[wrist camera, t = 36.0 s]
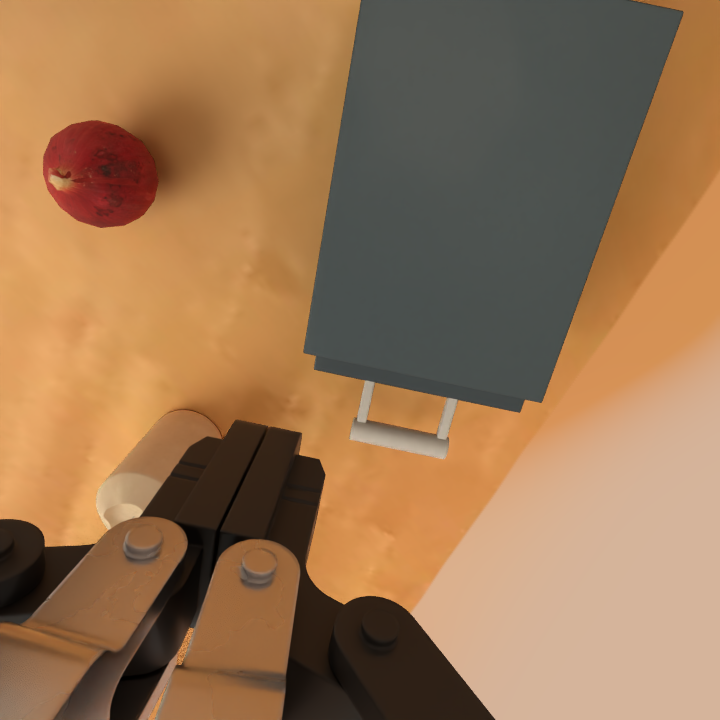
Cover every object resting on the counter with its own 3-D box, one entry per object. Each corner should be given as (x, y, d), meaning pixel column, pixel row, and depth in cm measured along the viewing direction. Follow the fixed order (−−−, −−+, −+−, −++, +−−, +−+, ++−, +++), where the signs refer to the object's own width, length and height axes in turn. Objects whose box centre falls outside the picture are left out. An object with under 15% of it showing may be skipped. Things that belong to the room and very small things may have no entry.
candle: (205, 482, 43) (151, 575, 34) (143, 449, 42) (70, 534, 33) (235, 431, 41) (186, 515, 32) (170, 396, 41) (101, 471, 31)
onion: (164, 117, 33) (96, 110, 26) (186, 213, 35) (128, 232, 28) (76, 129, 34) (-16, 125, 26) (103, 222, 36) (24, 244, 29)
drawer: (476, 426, 38) (492, 493, 31) (318, 393, 38) (298, 452, 31) (582, 90, 30) (638, 75, 23) (381, 48, 30) (374, 19, 23)
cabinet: (509, 340, 37) (542, 403, 28) (327, 302, 37) (302, 353, 28) (602, 48, 30) (685, 10, 21) (380, 2, 30) (369, -56, 21)
